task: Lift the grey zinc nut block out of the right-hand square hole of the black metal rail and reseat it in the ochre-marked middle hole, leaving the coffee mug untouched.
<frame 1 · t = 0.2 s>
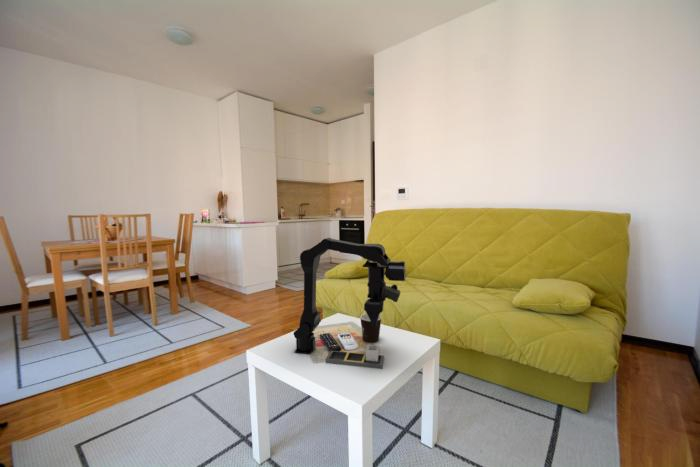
hand: (376, 321, 107), 14 cm above the table, tool pointing down, fingers open, 9 cm apart
coffee mug: (371, 339, 124), on the table
rail: (355, 362, 105), on the table
nut block: (372, 362, 104), point 1 cm above the table, touching rail
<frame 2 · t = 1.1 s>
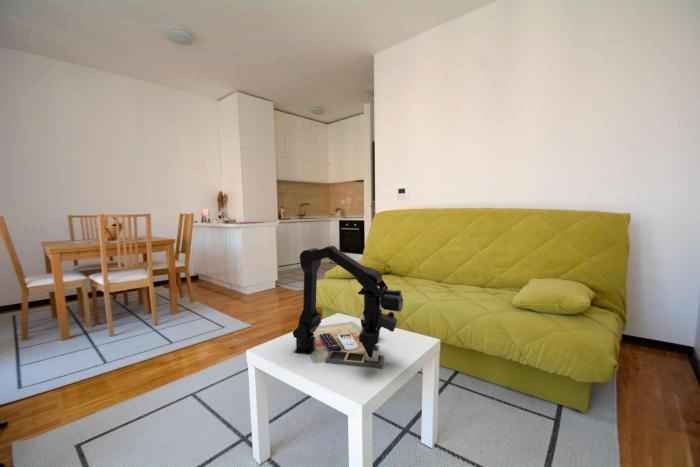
hand: (372, 350, 103), 5 cm above the table, tool pointing down, fingers open, 9 cm apart
nothing on the table moved.
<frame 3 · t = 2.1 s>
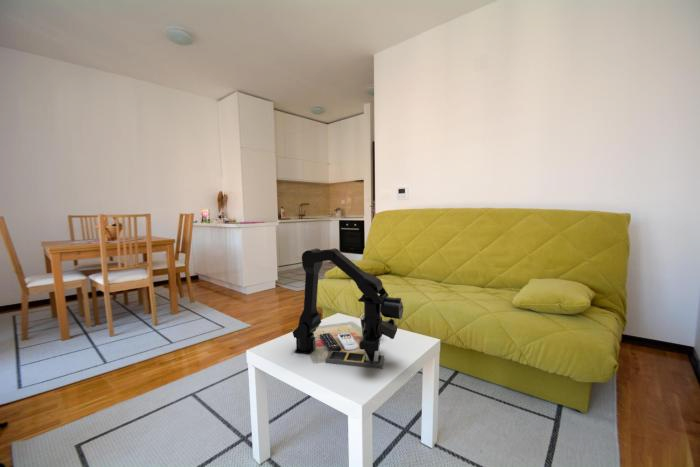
hand: (372, 357, 104), 2 cm above the table, tool pointing down, fingers closed on nut block, 4 cm apart
nut block: (372, 362, 104), point 1 cm above the table, touching gripper, rail
everything else where it was.
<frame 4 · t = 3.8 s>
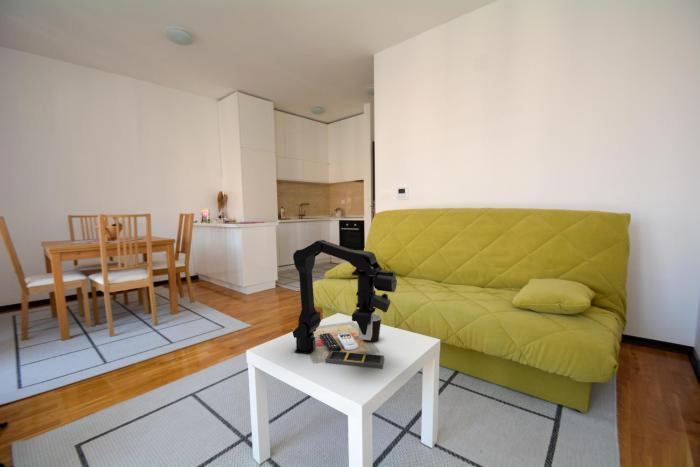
hand: (365, 332, 103), 12 cm above the table, tool pointing down, fingers closed on nut block, 4 cm apart
nut block: (365, 337, 104), point 10 cm above the table, touching gripper
everything else where it was.
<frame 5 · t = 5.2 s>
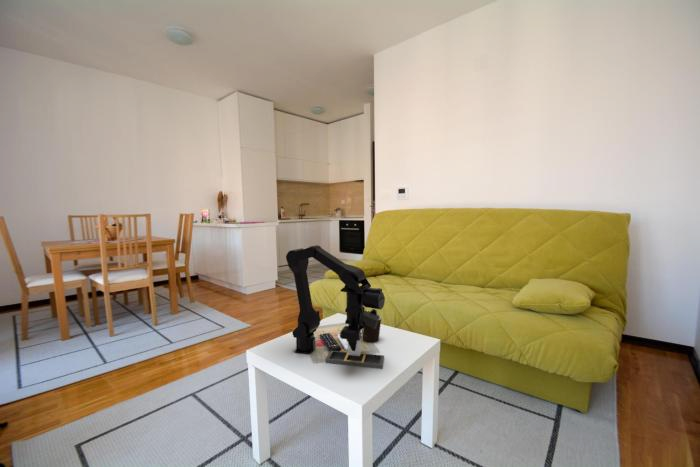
hand: (354, 347, 105), 6 cm above the table, tool pointing down, fingers closed on nut block, 4 cm apart
nut block: (355, 352, 105), point 4 cm above the table, touching gripper
everything else where it was.
when the fingers open (4 cm above the table, at t = 5.9 s): nut block drops 1 cm, resting on rail.
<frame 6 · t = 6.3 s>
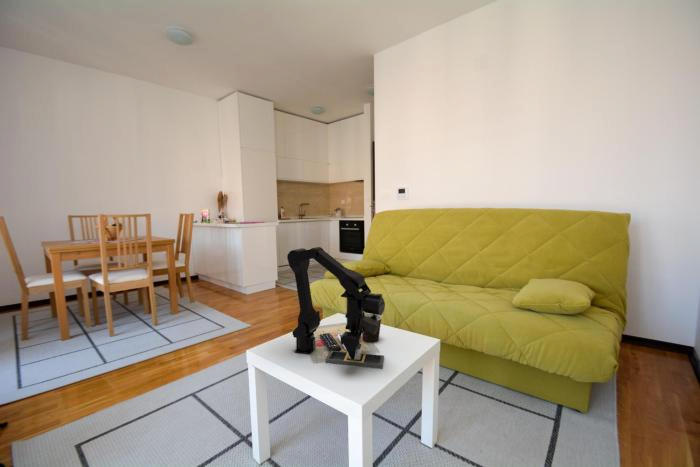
hand: (355, 353, 105), 4 cm above the table, tool pointing down, fingers open, 8 cm apart
nut block: (355, 361, 105), point 1 cm above the table, touching rail
everything else where it was.
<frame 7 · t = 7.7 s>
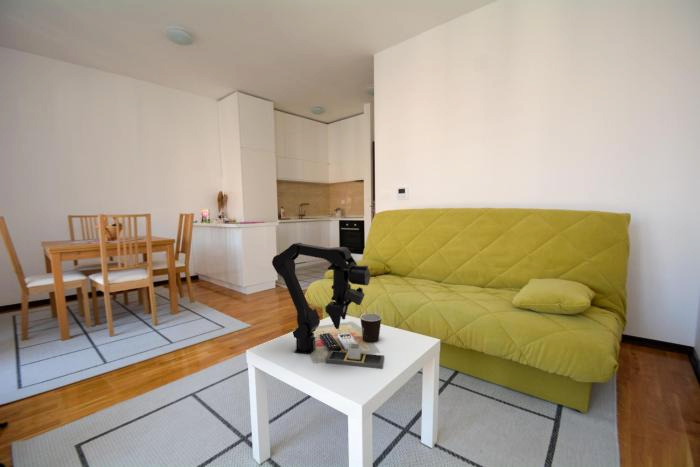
hand: (340, 323, 109), 13 cm above the table, tool pointing down, fingers open, 9 cm apart
nothing on the table moved.
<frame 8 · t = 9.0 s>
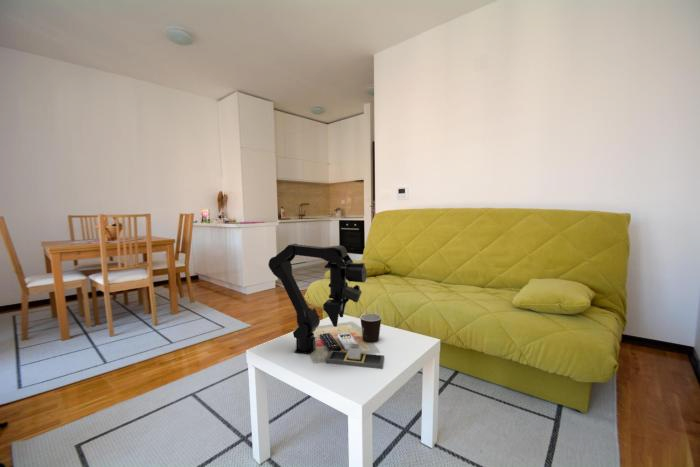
hand: (338, 321, 109), 13 cm above the table, tool pointing down, fingers open, 9 cm apart
nothing on the table moved.
at the end: nut block 0.0 cm off-centre on the rail, point 0.6 cm above the rail's base; the gripper is holding nothing; nut block tilted 0° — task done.
